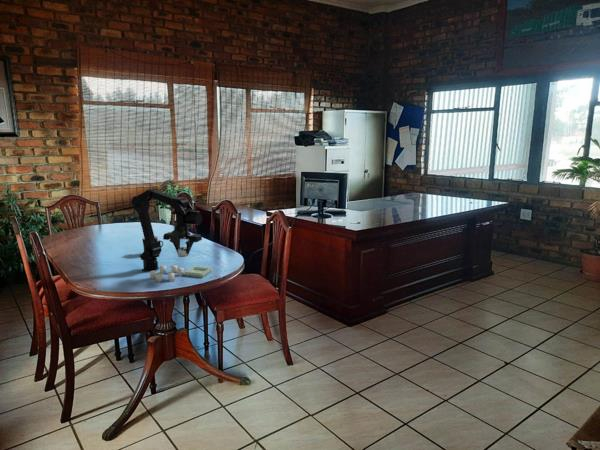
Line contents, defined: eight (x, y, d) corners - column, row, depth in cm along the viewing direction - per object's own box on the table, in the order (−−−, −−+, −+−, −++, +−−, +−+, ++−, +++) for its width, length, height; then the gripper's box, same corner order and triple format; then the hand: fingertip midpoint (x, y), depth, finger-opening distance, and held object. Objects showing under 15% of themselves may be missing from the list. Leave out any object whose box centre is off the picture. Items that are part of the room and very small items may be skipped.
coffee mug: (139, 254, 259) (139, 238, 257) (151, 251, 266) (151, 235, 264) (152, 258, 253) (152, 241, 251) (164, 254, 260) (164, 238, 258)
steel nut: (176, 256, 221) (175, 248, 220) (181, 254, 226) (181, 246, 225) (184, 257, 220) (184, 249, 219) (190, 255, 224) (189, 247, 223)
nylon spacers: (145, 280, 216) (145, 273, 215) (164, 270, 232) (164, 263, 231) (169, 283, 213) (169, 276, 212) (187, 273, 229) (187, 266, 228)
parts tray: (184, 275, 224) (184, 271, 224) (194, 270, 234) (194, 266, 233) (202, 277, 222) (202, 273, 221) (211, 272, 231) (211, 268, 231)
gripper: (155, 225, 214) (157, 256, 217) (190, 227, 209) (191, 259, 212) (168, 221, 225) (170, 250, 228) (201, 223, 220) (202, 253, 223)
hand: (183, 253), depth 222 cm, fingers closed on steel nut, 5 cm apart
